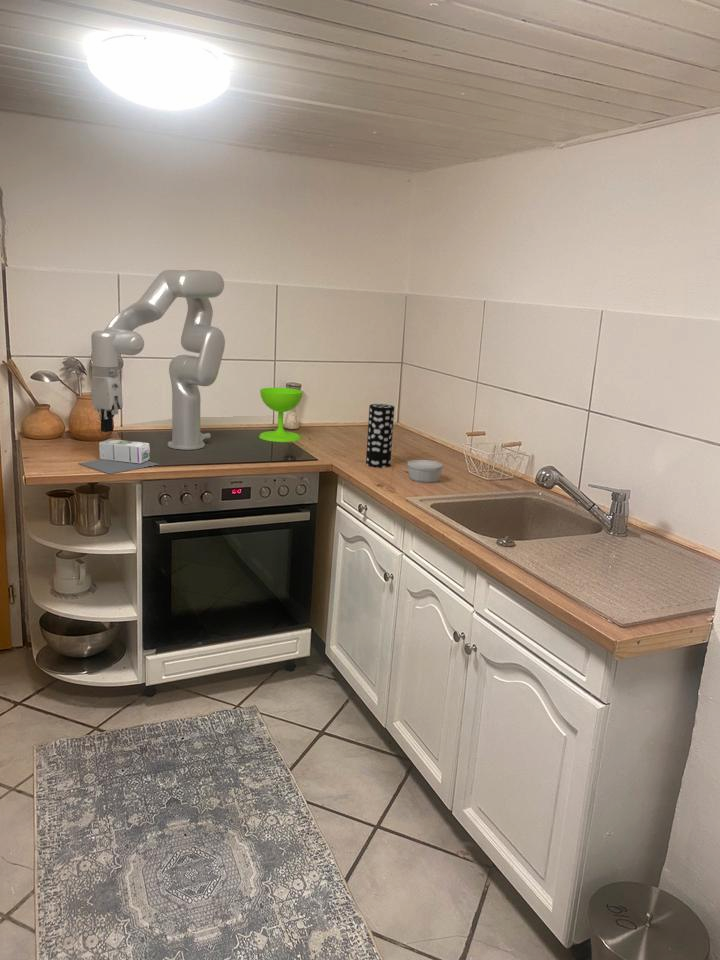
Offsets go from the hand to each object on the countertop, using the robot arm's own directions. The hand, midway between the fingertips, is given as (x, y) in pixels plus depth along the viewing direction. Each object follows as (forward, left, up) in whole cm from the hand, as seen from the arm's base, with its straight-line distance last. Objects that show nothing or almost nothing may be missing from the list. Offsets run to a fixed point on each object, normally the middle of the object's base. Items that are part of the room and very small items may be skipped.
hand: (106, 431), depth 233 cm
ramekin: (-61, +79, -10) cm, 100 cm away
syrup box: (-1, -4, -6) cm, 7 cm away
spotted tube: (-65, +58, -10) cm, 88 cm away
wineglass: (-71, +7, -10) cm, 72 cm away
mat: (0, +6, -10) cm, 11 cm away
